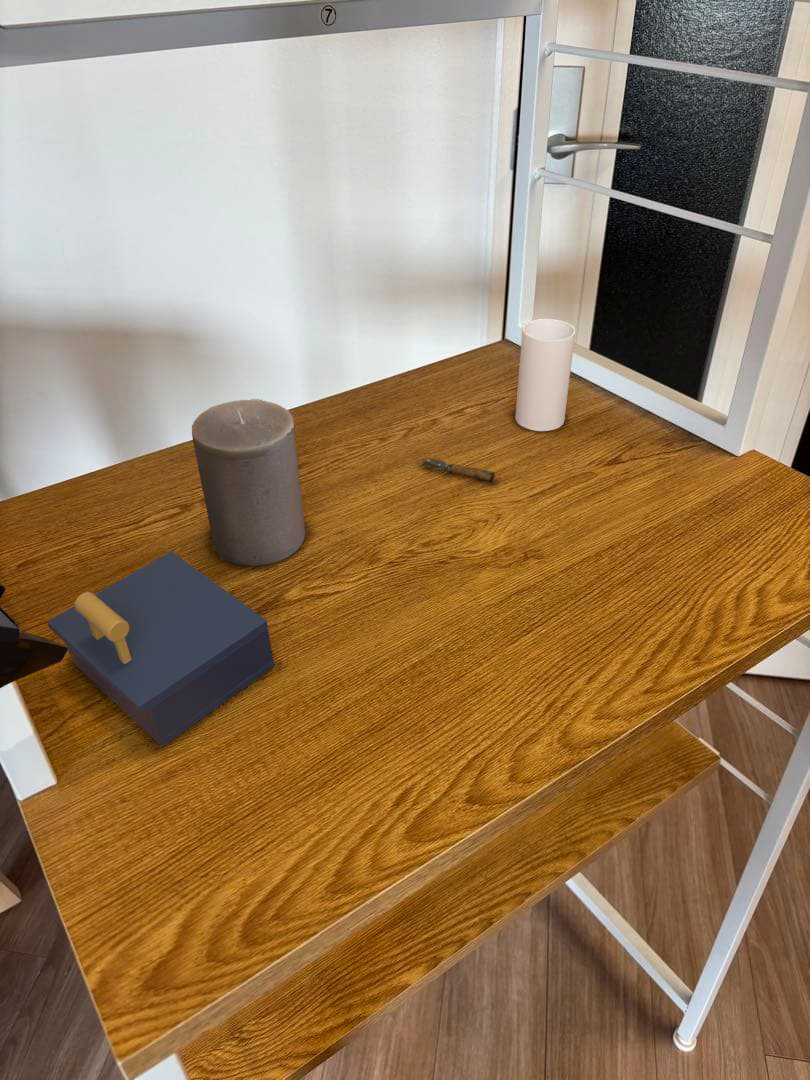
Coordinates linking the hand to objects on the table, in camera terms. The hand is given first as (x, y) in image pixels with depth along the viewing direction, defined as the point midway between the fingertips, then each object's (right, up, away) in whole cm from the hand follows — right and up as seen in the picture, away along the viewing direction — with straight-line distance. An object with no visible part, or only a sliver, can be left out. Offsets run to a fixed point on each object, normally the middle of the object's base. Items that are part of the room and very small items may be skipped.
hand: (31, 621), depth 60 cm
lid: (+6, -1, +10) cm, 12 cm away
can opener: (+33, +14, +36) cm, 51 cm away
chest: (+7, -5, +13) cm, 15 cm away
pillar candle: (+12, +6, +27) cm, 30 cm away
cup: (+44, +21, +45) cm, 67 cm away
